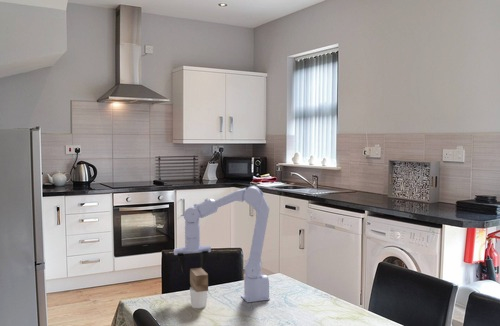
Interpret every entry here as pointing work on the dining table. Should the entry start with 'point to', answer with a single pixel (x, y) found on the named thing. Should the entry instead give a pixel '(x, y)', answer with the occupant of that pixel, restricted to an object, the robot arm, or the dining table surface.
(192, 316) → the dining table surface
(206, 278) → the walnut block
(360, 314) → the dining table surface
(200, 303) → the white cylinder
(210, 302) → the dining table surface
